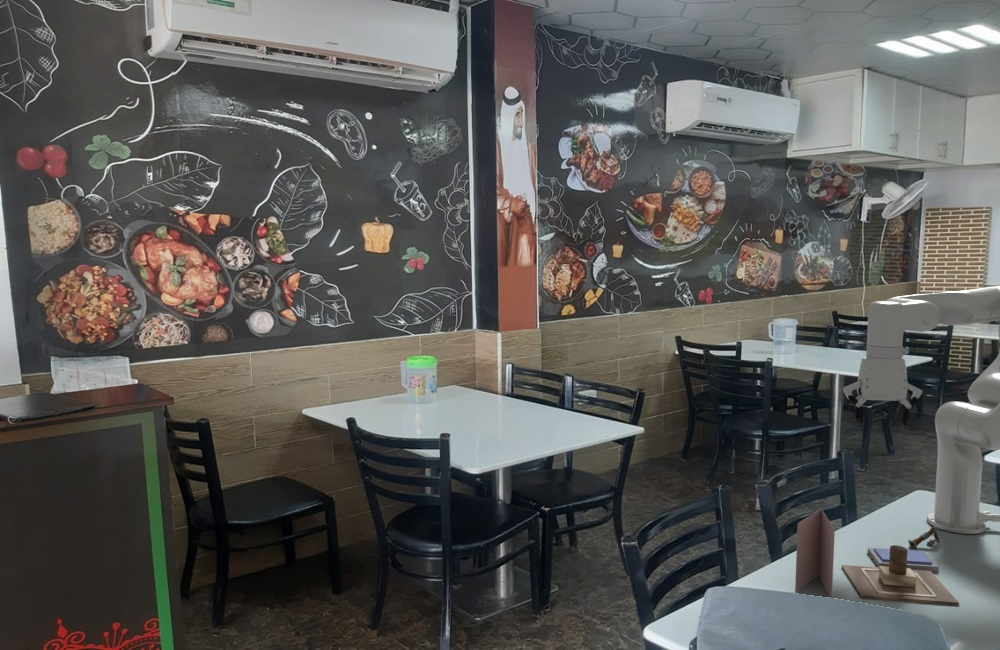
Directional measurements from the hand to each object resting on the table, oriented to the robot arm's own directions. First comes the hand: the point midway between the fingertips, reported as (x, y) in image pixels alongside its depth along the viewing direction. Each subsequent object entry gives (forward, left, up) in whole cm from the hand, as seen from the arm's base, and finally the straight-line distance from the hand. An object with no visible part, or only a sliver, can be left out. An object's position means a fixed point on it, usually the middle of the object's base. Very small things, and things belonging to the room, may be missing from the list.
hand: (880, 422), depth 172 cm
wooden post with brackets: (-9, +5, -29) cm, 30 cm away
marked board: (+4, +27, -28) cm, 39 cm away
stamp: (+4, +27, -28) cm, 39 cm away
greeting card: (+20, +31, -28) cm, 47 cm away
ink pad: (-1, +15, -28) cm, 32 cm away
